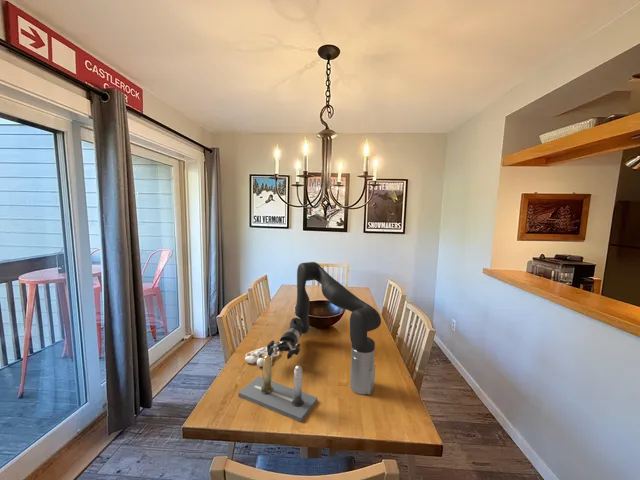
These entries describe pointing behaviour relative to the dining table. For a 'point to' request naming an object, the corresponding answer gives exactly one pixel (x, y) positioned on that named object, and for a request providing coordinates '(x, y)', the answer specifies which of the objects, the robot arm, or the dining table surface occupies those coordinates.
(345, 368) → the dining table surface
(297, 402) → the fixed leg
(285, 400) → the board
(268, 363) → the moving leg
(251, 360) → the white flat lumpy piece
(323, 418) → the dining table surface
